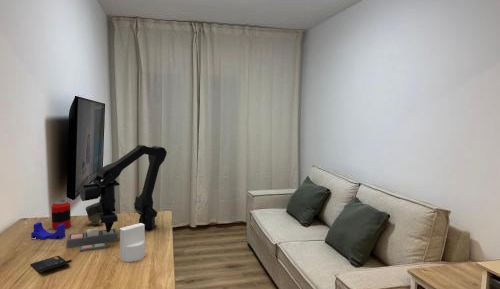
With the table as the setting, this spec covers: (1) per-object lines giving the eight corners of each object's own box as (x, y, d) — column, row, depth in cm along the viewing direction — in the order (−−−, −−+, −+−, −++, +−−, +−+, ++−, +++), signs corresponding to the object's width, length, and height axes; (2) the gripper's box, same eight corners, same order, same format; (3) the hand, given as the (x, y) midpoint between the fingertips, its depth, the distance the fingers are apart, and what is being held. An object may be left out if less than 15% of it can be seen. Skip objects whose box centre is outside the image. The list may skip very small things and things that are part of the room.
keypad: (116, 234, 148) (116, 227, 148) (118, 240, 141) (118, 233, 141) (66, 241, 139) (66, 234, 139) (66, 248, 133) (65, 240, 132)
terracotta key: (82, 238, 140) (82, 233, 140) (82, 242, 137) (82, 237, 136) (71, 240, 138) (70, 235, 138) (70, 244, 135) (70, 238, 134)
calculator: (58, 257, 125) (58, 249, 125) (71, 267, 118) (71, 259, 117) (30, 266, 118) (29, 258, 118) (42, 277, 111) (42, 269, 110)
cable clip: (31, 239, 140) (30, 225, 139) (38, 235, 144) (38, 222, 144) (58, 241, 139) (58, 227, 139) (65, 237, 144) (64, 223, 143)
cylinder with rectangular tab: (127, 264, 121) (126, 232, 120) (115, 256, 127) (115, 226, 126) (149, 256, 128) (149, 226, 126) (137, 249, 134) (137, 220, 132)
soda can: (73, 224, 159) (72, 199, 157) (66, 230, 151) (66, 204, 150) (56, 224, 158) (55, 200, 156) (49, 230, 150) (48, 204, 149)
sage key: (113, 234, 146) (113, 229, 146) (114, 238, 142) (114, 233, 142) (102, 236, 144) (102, 231, 144) (102, 240, 140) (102, 234, 140)
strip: (106, 244, 137) (106, 242, 137) (107, 247, 134) (107, 245, 134) (79, 248, 132) (79, 246, 132) (79, 251, 130) (79, 249, 129)
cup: (99, 227, 156) (99, 210, 155) (84, 226, 156) (83, 210, 155) (106, 221, 163) (106, 206, 162) (91, 221, 163) (91, 205, 162)
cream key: (98, 233, 143) (98, 228, 143) (98, 237, 139) (98, 231, 139) (86, 235, 141) (86, 229, 141) (87, 239, 137) (87, 233, 137)
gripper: (86, 193, 146) (87, 227, 147) (86, 204, 129) (87, 243, 131) (113, 190, 151) (113, 223, 152) (117, 201, 134) (117, 238, 136)
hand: (108, 231), depth 143 cm, fingers closed
